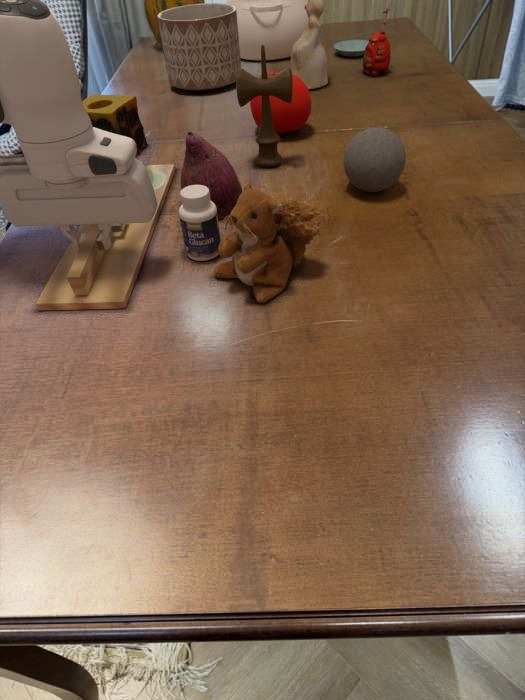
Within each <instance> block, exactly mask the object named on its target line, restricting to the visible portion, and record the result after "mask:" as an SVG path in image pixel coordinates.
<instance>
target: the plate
mask: <svg viewBox="0 0 525 700" xmlns="http://www.w3.org/2000/svg"><path fill="white" fill-rule="evenodd" d="M146 170H147V172H149V173H148V174H149V177H150V180H151V178H152V177H151V176H154V177H153V178H154V179H153V178H152V179H153V181H152V180H151V181H152V185H153V189H154V190H156V189H158V188H160V187H161V186H162V185H163V184H164V183H165V181H166V179H165V177H166V175H165V174H162V173H163V172H161V171H159V170H156V171H155V169H146ZM151 173H152V174H151ZM154 173H155V174H154ZM157 173H158V174H157ZM160 175H161V177H160ZM156 176H158V177H156ZM163 176H164V177H163ZM159 177H160V178H159ZM156 178H157V179H159V180H160V181H161V183H160V181H159V180H156ZM163 178H164V179H163ZM161 179H163V181H162V180H161ZM154 180H155V182H154ZM158 181H159V182H158ZM157 182H158V184H156V183H157ZM154 183H155V184H154ZM155 186H156V187H155ZM154 187H155V188H154Z"/></svg>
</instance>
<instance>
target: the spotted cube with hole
mask: <svg viewBox="0 0 525 700" xmlns="http://www.w3.org/2000/svg"><path fill="white" fill-rule="evenodd" d="M82 104H83V106H84V109H85V110H86V112H87V114H88V115H89V117H90V120H91V123H92V127H95V128H98V129H100V130H104V131H107V132H110V133H114V134H118V135H121V136H125V137H129V138H131V139H133V140H134V141H135V143H136V147H137V153H136V156H137V155H138V154H139V153H140V152H141V151H142V150H143V149H144V148H146V147H148V145H149V144H148V141H147V138H146V134H145V127H144V126H143V124H142V122H141V118H140V117H139V107H138V98H137V96H136V95H124V94H123V95H120V94H119V95H118V94H117V95H116V94H91V95H90V96H89V97H87V98H85V99H83V100H82Z"/></svg>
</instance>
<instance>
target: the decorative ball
mask: <svg viewBox="0 0 525 700" xmlns="http://www.w3.org/2000/svg"><path fill="white" fill-rule="evenodd" d="M406 158H407V154H406V148H405V144H404V143H403V141H402V140H401V138H400V137H399V136H398V135H397V134H396V133H395V132H393V131H392V130H390V129H388V128H385V127H380V126H374V127H368V128H366V129H364V130H362V131H360V132H358V133H357V134H356V135H355V136H353V138H352V139H351V140H350V141H349V143H348V145H347V147H346V149H345V151H344V155H343V169H344V172H345V176H346V177H347V179H348V180H349V182H350V183H351V184H352V185H353V186H354V187H355V188H357V189H359V190H361V191H364V192H369V193H377V192H381V191H384V190H386V189H388V188H390V187H391V186H393V185H394V184H395V183H396V182H397V181H398V180H399V179H400V177H401V175H402V173H403V172H404V169H405V165H406Z"/></svg>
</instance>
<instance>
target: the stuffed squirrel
mask: <svg viewBox="0 0 525 700" xmlns="http://www.w3.org/2000/svg"><path fill="white" fill-rule="evenodd" d="M320 218H324V213H322V212H320V211H318V209H316V208H315V206H314V205H311V204H309V203H306V202H304V201H302V200H297V199H296V200H295V199H294V198H293V199H292V200H290V199H288V200H287V201H282V200H281V199H278V200H274V199H273V197H271V196H270V195H269V194H267V193H265V192H264V191H262V190H260V189H258V188H255V187H252V184H251V183H250V182H246V183H244V184H243V190H242V193H241V195H240V196H239V198H238V201H237V204H236V206H235V207H234V208H233V210H232V211H231V213H230V215H228V216H226V217H225V218H223V219H222V221H221V224H224V223H225V225H224V228H223V229H224V231H227V226H228V224H229V225H230V227H231V229H232V230H233V231H234V232H232V233H231V234H229V235H227V236H226V237H225V238H223V239H221V242H220V244H219V248H218V250H219V253H220V254H219V256H220V257H221V258H224V259H229V258H231V260H229V261H225V262H222V263H219V264H217V265H216V266H215V267H214V269H213V271H212V272H213V274H214V276H215V277H216V278H218V279H239V280H240V281H241V282H242V283H243V284H244V285H246V286H251V287H252V291H253V295H254V298H255V299H256V301H257V303H259V304H264V303H266V302H269V301H270V300H272V299H273V298H274V297H276V296H277V295H279V294H280V293H281V292H282V291H284V290H285V288H286V286H287V283H288V280H289V277H290V275H291V274H290V273H291V270H292V267H293V268H295V267H296V266H297V265H298V264H301V260H302V258H303V256H304V255H305V253H306V250H307V248H306V245H310V244H311V241H314V238H315V237H316V236H321V233H320V229H321V227H320V226H321V225H320V223H322V221H320V220H321V219H320Z"/></svg>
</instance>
